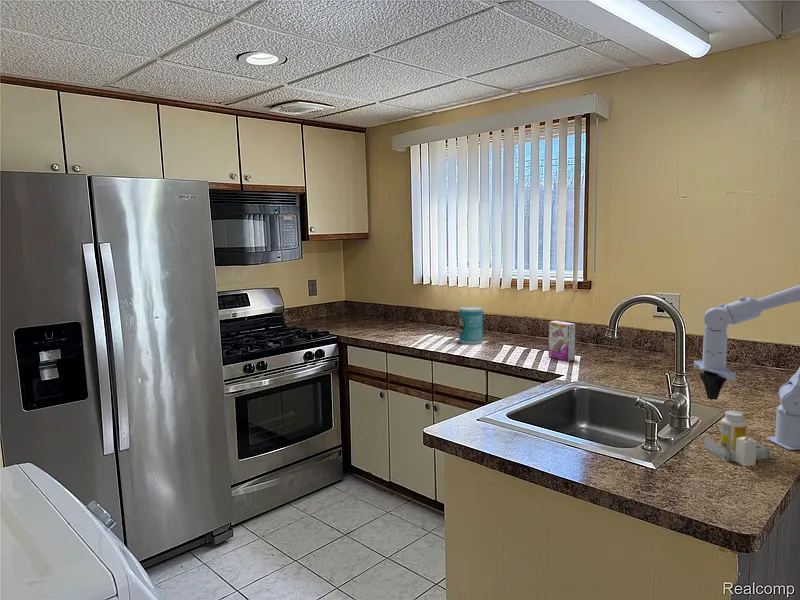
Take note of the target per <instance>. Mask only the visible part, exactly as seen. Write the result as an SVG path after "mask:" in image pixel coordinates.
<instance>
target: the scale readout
mask: <svg viewBox="0 0 800 600" xmlns="http://www.w3.org/2000/svg"><path fill="white" fill-rule="evenodd" d="M757 443H758V442H757V441H756V440H755V439H753V438H752V437H749V436H746V437H740V438H736V455H735V461H734V462H736V463H738V464H739V465H741V466H743V467H753V466H756V464H757V463H756V447H757Z"/></svg>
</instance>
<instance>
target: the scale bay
mask: <svg viewBox="0 0 800 600" xmlns="http://www.w3.org/2000/svg"><path fill="white" fill-rule="evenodd" d="M703 440H704V441H703V443H704V445H703V448H705V450H707V451H709V452H711V453H713V454H715V455H716V456H717V457H719V458H721V459H723V460H725V461H726V462H728V463H729V462H736V461H735V455H736V450H727V449H726V448H724V447H722V446H720V443H717V442H715V441H714V440H712V439H710V438H703ZM769 459H770V449H769V448H767V447H766V446H764V445H762V444H759V443H758V442H757V447H756V460H769Z"/></svg>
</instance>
